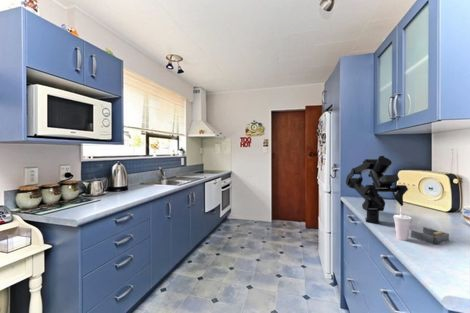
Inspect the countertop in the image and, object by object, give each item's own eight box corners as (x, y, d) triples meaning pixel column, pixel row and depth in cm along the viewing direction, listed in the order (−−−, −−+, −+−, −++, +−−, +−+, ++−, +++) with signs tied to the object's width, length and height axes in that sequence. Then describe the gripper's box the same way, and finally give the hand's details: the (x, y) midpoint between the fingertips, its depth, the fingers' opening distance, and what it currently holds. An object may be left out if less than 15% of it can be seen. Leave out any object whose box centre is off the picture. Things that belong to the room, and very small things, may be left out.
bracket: (410, 236, 98) (411, 228, 98) (424, 233, 102) (424, 224, 102) (435, 244, 90) (435, 235, 90) (448, 240, 94) (448, 231, 94)
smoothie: (393, 234, 100) (394, 204, 100) (411, 238, 96) (412, 206, 96) (392, 239, 95) (393, 206, 95) (411, 243, 91) (412, 209, 91)
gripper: (365, 168, 108) (378, 195, 97) (406, 168, 107) (423, 196, 96) (357, 181, 116) (368, 208, 105) (394, 182, 115) (409, 209, 104)
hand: (391, 205), depth 103 cm, fingers open, 9 cm apart
